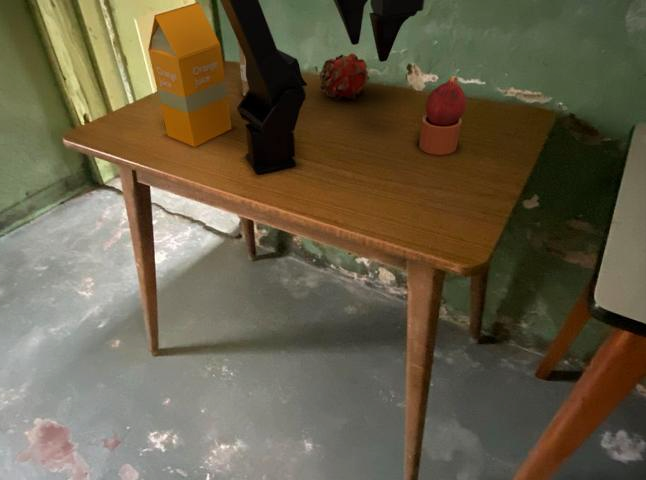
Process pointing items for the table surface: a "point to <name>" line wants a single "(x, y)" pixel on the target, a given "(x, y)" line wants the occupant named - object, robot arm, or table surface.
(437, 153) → the cup
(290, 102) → the robot arm
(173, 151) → the table surface
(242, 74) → the sprinkles bottle
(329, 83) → the dragon fruit
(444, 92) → the onion
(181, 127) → the orange juice
